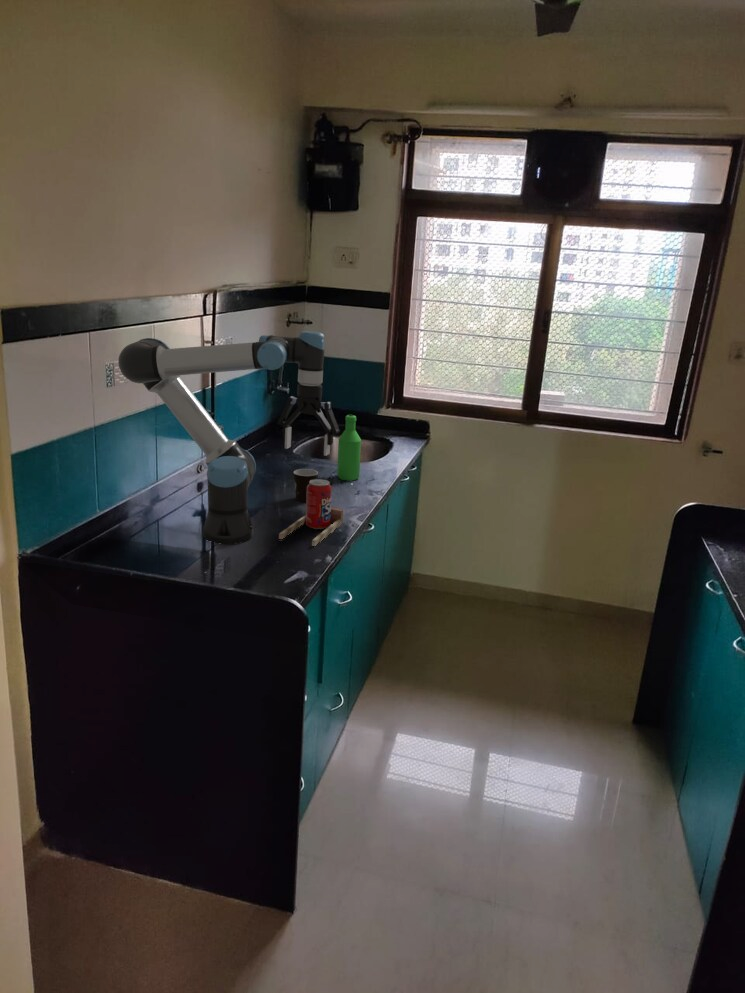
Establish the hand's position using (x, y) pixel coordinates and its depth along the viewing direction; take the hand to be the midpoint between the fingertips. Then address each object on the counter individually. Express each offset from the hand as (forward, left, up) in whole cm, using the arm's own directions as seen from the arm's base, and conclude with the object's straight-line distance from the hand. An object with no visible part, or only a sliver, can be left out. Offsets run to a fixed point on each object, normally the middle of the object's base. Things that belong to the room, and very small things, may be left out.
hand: (307, 451), depth 221 cm
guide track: (-3, -7, -24) cm, 25 cm away
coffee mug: (+17, +19, -24) cm, 35 cm away
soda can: (+1, -5, -24) cm, 25 cm away
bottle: (+46, +28, -24) cm, 59 cm away
